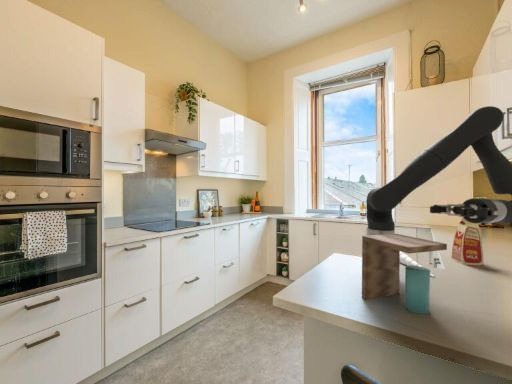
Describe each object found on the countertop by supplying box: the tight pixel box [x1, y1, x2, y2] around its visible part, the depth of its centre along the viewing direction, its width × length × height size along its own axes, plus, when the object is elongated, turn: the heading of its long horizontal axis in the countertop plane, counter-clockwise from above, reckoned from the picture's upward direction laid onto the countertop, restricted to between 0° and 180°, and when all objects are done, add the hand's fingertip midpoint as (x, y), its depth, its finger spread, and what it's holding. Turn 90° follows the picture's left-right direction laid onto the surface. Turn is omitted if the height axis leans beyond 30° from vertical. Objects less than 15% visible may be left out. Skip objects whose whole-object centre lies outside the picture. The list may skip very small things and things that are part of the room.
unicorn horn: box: [400, 251, 435, 278], centre depth 104 cm, size 5×24×5 cm, turn 178°
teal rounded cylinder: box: [404, 265, 431, 315], centre depth 68 cm, size 6×6×11 cm
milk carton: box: [450, 217, 484, 266], centre depth 113 cm, size 9×9×20 cm
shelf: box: [361, 233, 448, 300], centre depth 70 cm, size 13×16×18 cm
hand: (445, 210), depth 71 cm, fingers open, 8 cm apart
